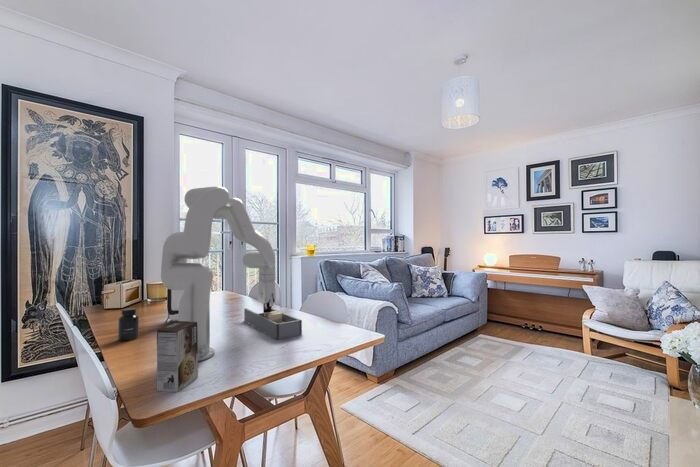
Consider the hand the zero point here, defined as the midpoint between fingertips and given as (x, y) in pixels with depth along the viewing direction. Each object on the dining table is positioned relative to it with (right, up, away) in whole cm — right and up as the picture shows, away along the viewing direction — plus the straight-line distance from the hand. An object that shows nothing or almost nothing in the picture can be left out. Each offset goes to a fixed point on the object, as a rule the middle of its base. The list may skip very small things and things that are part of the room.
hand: (267, 317), depth 148 cm
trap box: (+2, -4, -3) cm, 5 cm away
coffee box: (-9, -3, -60) cm, 60 cm away
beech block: (+3, -1, -4) cm, 5 cm away
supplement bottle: (-51, -4, -19) cm, 55 cm away
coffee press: (-44, -4, +8) cm, 45 cm away
